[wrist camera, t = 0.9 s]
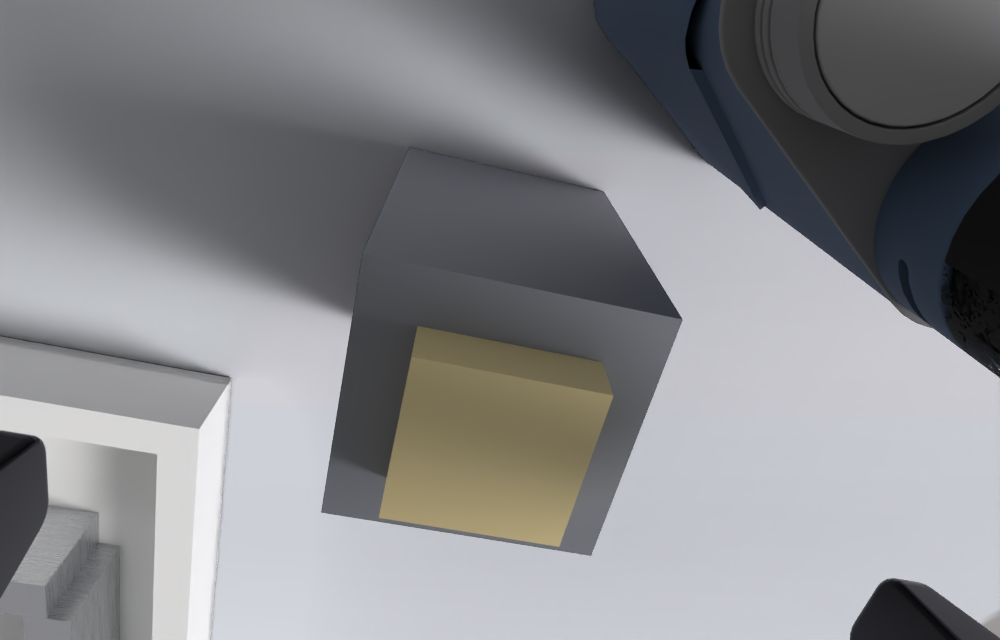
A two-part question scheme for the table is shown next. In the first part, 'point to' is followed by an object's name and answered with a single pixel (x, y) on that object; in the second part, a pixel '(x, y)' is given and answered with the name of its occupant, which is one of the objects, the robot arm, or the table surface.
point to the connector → (495, 358)
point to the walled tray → (130, 472)
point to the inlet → (67, 581)
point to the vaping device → (849, 133)
